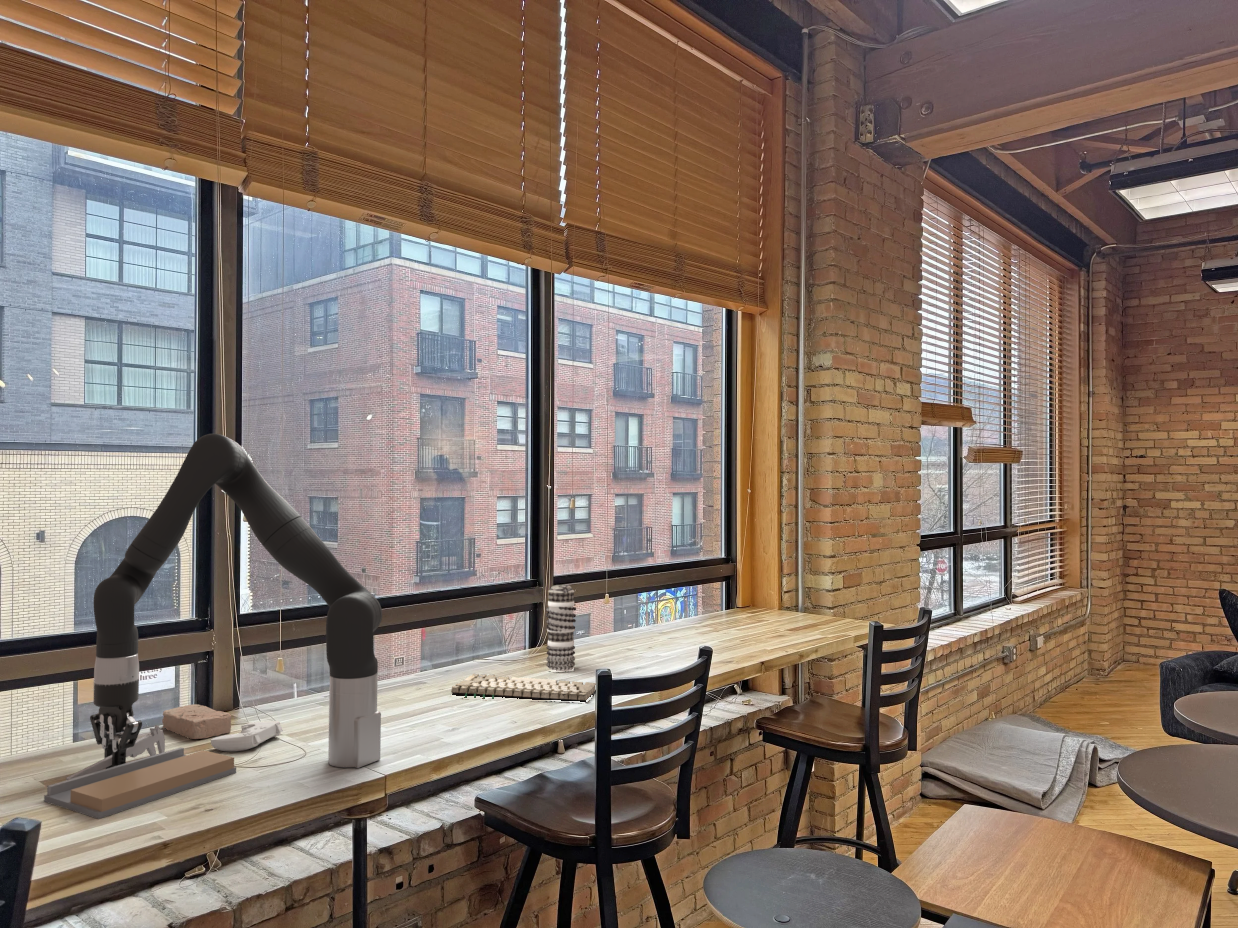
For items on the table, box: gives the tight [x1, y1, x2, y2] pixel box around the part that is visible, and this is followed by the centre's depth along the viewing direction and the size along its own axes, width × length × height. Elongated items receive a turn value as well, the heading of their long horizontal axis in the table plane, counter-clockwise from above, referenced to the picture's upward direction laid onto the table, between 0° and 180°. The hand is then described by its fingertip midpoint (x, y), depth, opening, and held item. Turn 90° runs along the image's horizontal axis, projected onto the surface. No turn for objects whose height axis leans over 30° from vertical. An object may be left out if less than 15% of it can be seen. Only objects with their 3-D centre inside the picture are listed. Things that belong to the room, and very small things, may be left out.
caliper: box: [65, 725, 166, 781], centre depth 165 cm, size 21×1×6 cm, turn 156°
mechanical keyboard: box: [450, 673, 597, 702], centre depth 228 cm, size 38×19×3 cm, turn 81°
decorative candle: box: [545, 584, 577, 671], centre depth 256 cm, size 9×9×25 cm
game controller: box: [210, 720, 284, 752], centre depth 182 cm, size 14×4×10 cm
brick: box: [161, 703, 232, 740], centre depth 191 cm, size 16×8×5 cm, turn 52°
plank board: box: [43, 747, 237, 820], centre depth 156 cm, size 16×26×3 cm, turn 152°
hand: (114, 768), depth 165 cm, fingers closed
